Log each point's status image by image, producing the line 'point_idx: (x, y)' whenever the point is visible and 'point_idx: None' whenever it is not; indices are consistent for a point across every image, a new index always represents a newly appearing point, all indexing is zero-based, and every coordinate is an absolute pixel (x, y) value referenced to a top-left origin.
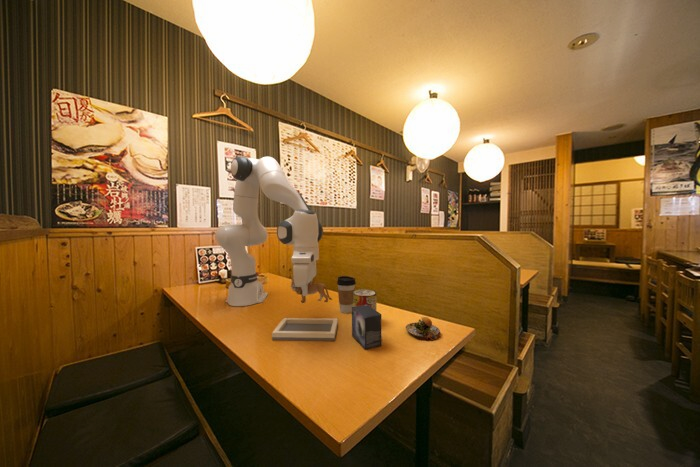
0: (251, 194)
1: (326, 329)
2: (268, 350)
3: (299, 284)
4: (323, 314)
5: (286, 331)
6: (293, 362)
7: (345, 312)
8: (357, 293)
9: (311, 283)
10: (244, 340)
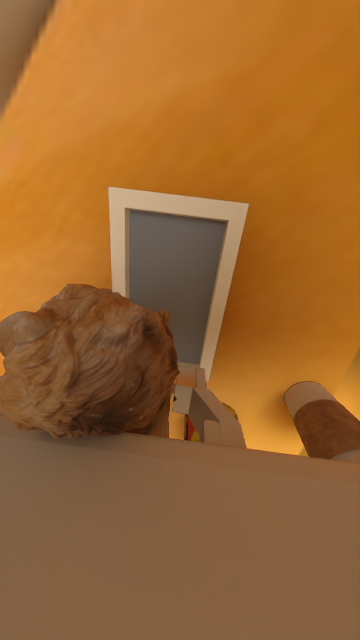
0: None
1: None
2: (58, 199)
3: None
4: (297, 337)
5: (120, 241)
6: (22, 280)
7: (286, 393)
8: None
9: (200, 435)
10: (111, 62)
